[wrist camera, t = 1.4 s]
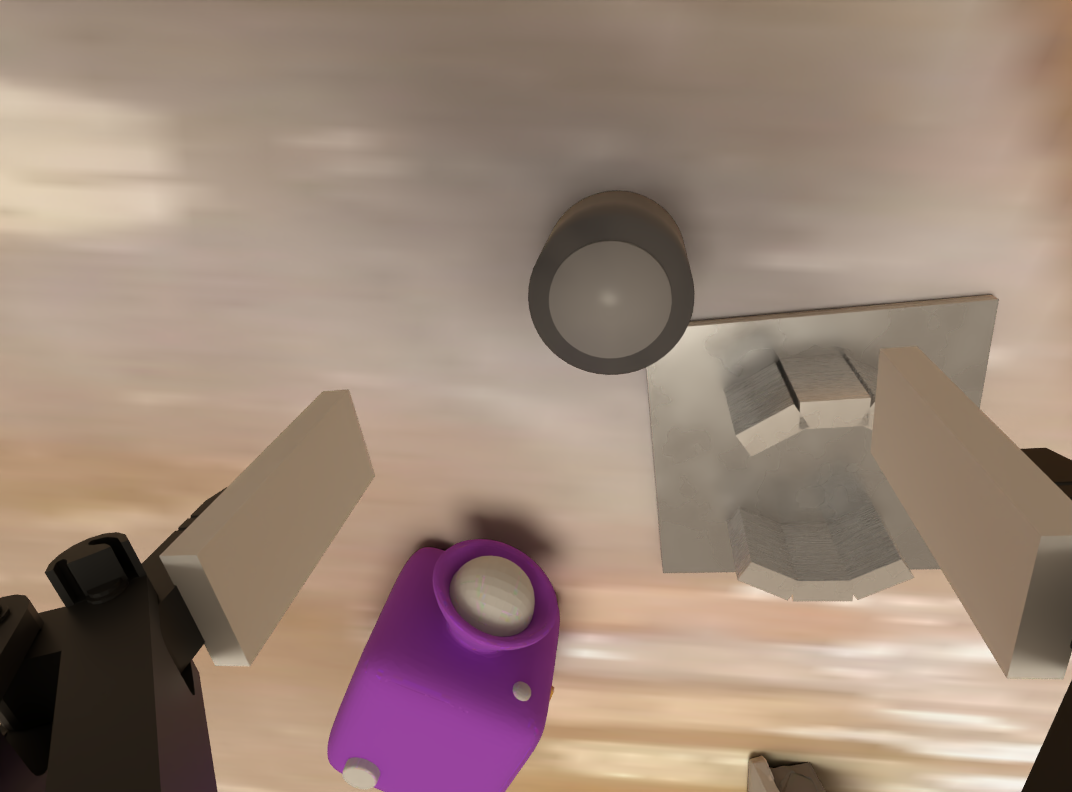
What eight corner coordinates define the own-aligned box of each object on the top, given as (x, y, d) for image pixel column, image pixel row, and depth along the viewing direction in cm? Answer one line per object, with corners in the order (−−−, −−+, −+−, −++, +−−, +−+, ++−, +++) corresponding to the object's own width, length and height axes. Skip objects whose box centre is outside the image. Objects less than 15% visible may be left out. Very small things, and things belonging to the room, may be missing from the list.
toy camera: (592, 528, 34) (576, 688, 26) (541, 689, 41) (515, 860, 32) (399, 480, 35) (318, 621, 26) (379, 647, 41) (310, 804, 33)
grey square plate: (643, 325, 29) (643, 369, 25) (991, 294, 26) (1056, 337, 22) (662, 565, 35) (665, 631, 31) (945, 560, 32) (990, 632, 28)
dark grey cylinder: (536, 200, 27) (514, 229, 22) (681, 181, 26) (691, 207, 21) (555, 332, 30) (540, 383, 25) (688, 320, 28) (698, 371, 24)
